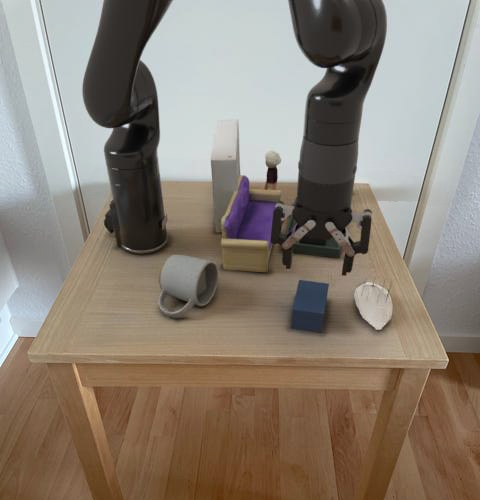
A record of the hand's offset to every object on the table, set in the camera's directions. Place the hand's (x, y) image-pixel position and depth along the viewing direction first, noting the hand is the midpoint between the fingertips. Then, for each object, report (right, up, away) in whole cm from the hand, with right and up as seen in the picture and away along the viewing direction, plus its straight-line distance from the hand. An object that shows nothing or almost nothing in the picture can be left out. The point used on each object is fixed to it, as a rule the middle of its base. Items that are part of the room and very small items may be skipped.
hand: (316, 269), depth 76 cm
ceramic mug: (-21, -5, +9) cm, 23 cm away
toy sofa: (-9, +7, +23) cm, 26 cm away
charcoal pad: (+3, +9, +23) cm, 25 cm away
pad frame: (+4, +11, +26) cm, 29 cm away
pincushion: (+11, -6, +7) cm, 14 cm away
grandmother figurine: (-5, +17, +34) cm, 38 cm away
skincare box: (-14, +17, +33) cm, 40 cm away
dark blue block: (0, -7, +6) cm, 9 cm away
